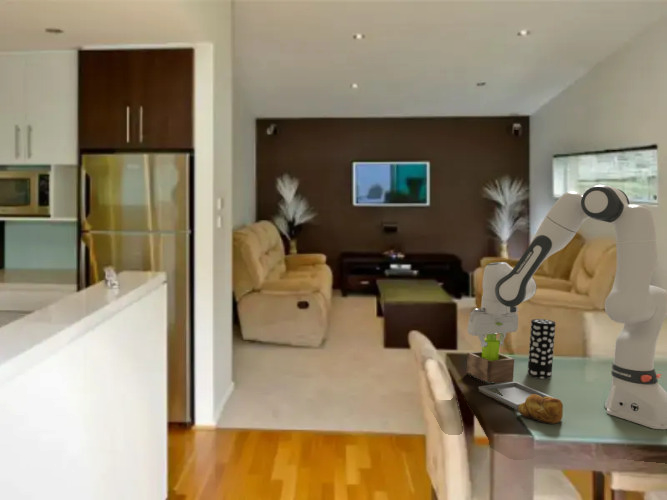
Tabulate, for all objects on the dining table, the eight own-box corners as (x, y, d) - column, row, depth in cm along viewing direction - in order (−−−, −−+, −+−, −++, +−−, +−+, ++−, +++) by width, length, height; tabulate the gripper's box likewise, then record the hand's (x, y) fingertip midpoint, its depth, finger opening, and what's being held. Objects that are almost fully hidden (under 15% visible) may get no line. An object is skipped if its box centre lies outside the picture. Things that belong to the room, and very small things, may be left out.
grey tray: (555, 403, 196) (555, 398, 196) (516, 410, 189) (516, 404, 189) (515, 386, 212) (515, 381, 212) (478, 391, 205) (478, 386, 205)
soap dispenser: (493, 380, 216) (496, 324, 214) (477, 375, 222) (480, 320, 220) (503, 377, 220) (506, 322, 218) (487, 372, 225) (490, 318, 223)
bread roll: (513, 417, 183) (515, 391, 182) (524, 408, 191) (526, 383, 190) (558, 428, 176) (560, 401, 175) (567, 419, 184) (569, 392, 183)
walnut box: (512, 381, 218) (514, 358, 217) (488, 384, 213) (489, 361, 212) (490, 371, 229) (491, 350, 228) (466, 374, 224) (467, 352, 223)
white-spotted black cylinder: (548, 372, 230) (552, 319, 228) (553, 379, 222) (558, 324, 220) (525, 371, 231) (529, 318, 229) (530, 377, 223) (534, 323, 221)
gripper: (476, 310, 211) (474, 350, 212) (522, 307, 220) (519, 345, 221) (464, 307, 217) (462, 346, 218) (509, 304, 226) (507, 341, 227)
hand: (491, 345), depth 220 cm, fingers closed on soap dispenser, 6 cm apart
